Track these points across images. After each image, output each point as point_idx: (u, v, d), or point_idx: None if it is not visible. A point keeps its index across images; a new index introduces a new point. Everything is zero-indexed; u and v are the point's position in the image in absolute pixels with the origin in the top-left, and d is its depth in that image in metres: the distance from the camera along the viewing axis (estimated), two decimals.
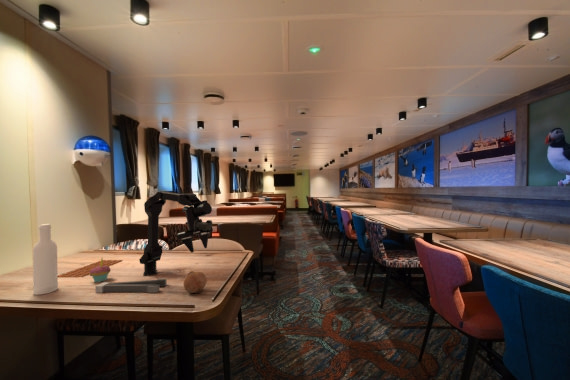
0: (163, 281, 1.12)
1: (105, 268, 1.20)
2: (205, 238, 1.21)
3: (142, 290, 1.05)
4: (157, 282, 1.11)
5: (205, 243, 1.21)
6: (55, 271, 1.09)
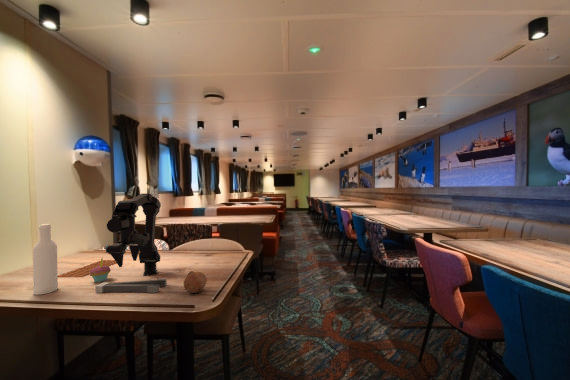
0: (163, 281, 1.12)
1: (105, 268, 1.20)
2: (136, 250, 1.13)
3: (142, 290, 1.05)
4: (157, 282, 1.11)
5: (135, 255, 1.12)
6: (55, 271, 1.09)
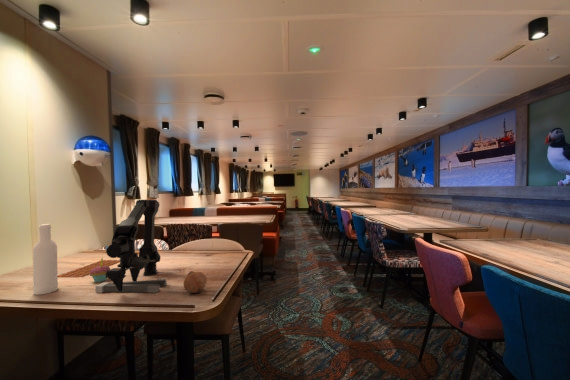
0: (163, 281, 1.12)
1: (105, 268, 1.20)
2: (136, 272, 1.13)
3: (142, 290, 1.05)
4: (157, 282, 1.11)
5: (135, 277, 1.12)
6: (55, 271, 1.09)
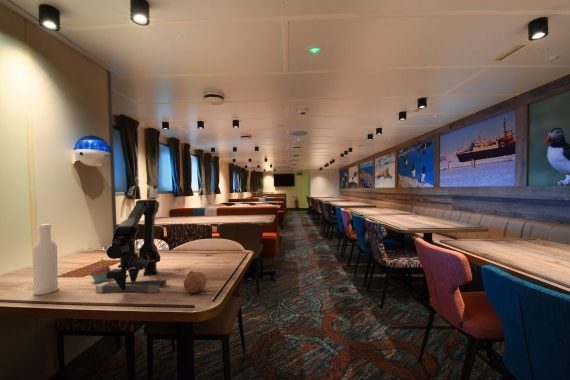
0: (163, 281, 1.11)
1: (105, 268, 1.20)
2: (135, 273, 1.12)
3: (142, 290, 1.05)
4: (157, 282, 1.11)
5: (134, 279, 1.11)
6: (55, 271, 1.09)
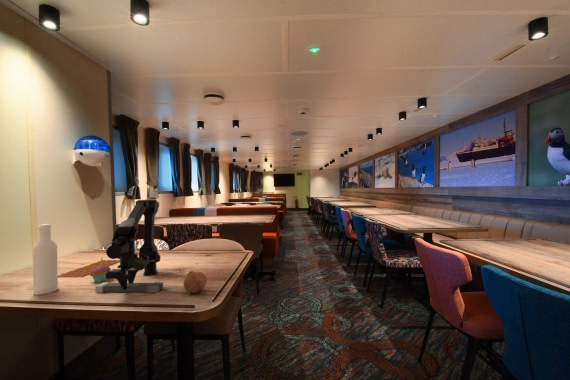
0: None
1: (105, 268, 1.20)
2: (132, 275, 1.10)
3: (142, 290, 1.05)
4: None
5: (131, 280, 1.10)
6: (55, 271, 1.09)
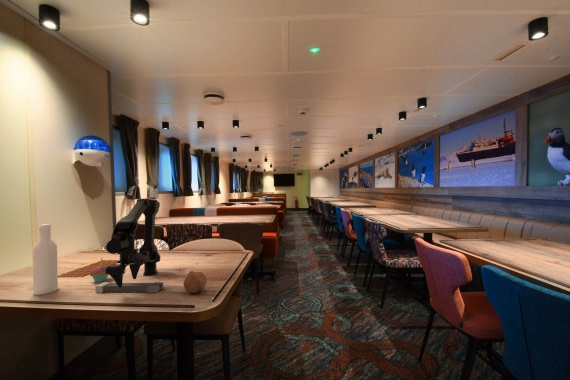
0: None
1: (105, 268, 1.20)
2: (136, 268, 1.12)
3: (142, 290, 1.05)
4: None
5: (135, 274, 1.12)
6: (55, 271, 1.09)
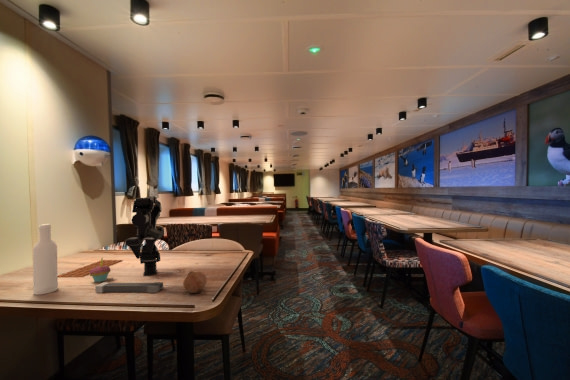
0: None
1: (105, 268, 1.20)
2: (151, 243, 1.22)
3: (142, 290, 1.05)
4: None
5: (150, 248, 1.21)
6: (55, 271, 1.09)
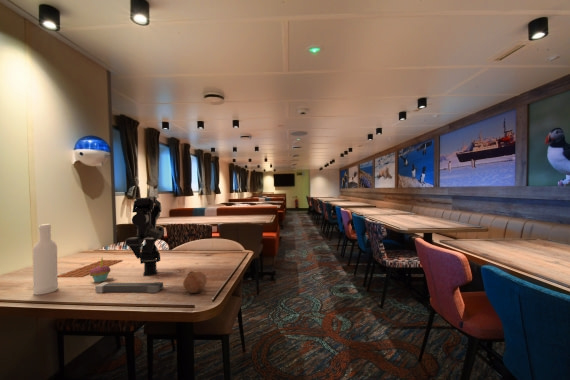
0: None
1: (105, 268, 1.20)
2: (151, 243, 1.22)
3: (142, 290, 1.05)
4: None
5: (150, 248, 1.21)
6: (55, 271, 1.09)
